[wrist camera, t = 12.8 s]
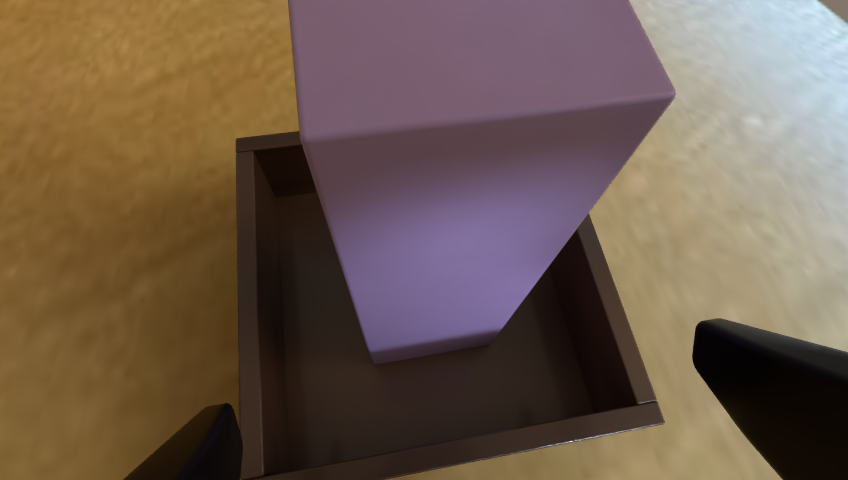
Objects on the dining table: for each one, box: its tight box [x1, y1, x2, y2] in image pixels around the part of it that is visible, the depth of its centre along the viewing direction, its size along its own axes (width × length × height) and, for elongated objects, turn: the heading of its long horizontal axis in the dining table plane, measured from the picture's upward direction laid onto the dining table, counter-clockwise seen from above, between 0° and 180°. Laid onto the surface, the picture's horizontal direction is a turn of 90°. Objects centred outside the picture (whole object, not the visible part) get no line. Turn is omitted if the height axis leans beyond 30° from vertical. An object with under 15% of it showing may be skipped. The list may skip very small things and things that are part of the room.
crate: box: [236, 131, 665, 480], centre depth 16 cm, size 11×11×4 cm
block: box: [288, 0, 676, 365], centre depth 12 cm, size 4×4×13 cm
